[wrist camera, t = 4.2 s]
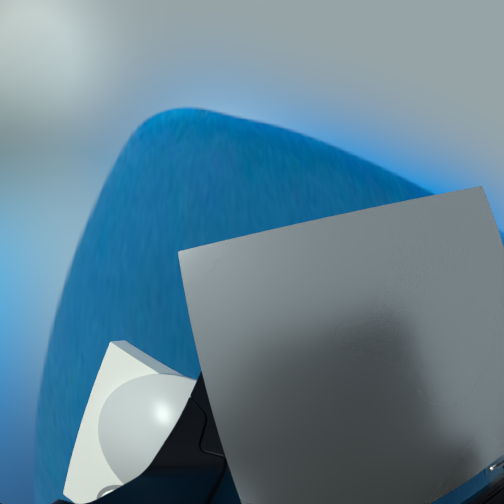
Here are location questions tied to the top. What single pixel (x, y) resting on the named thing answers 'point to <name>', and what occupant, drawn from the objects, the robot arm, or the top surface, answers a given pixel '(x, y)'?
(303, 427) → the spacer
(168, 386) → the scale
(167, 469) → the robot arm
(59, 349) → the top surface
